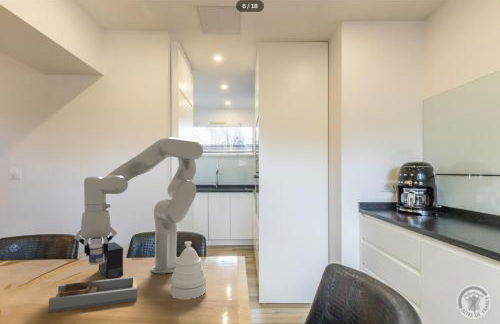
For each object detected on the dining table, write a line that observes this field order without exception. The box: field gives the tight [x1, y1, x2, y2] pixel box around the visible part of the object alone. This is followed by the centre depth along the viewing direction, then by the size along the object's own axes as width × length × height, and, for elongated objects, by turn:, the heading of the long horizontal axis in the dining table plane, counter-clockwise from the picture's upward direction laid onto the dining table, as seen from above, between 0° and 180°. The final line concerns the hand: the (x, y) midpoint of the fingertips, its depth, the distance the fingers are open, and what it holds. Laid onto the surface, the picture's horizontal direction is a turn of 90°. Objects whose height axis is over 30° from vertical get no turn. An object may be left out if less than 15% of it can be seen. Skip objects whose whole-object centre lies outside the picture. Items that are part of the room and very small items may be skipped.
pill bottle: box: [88, 237, 105, 266], centre depth 116 cm, size 5×5×10 cm
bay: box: [48, 275, 138, 314], centre depth 104 cm, size 26×13×4 cm, turn 111°
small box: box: [98, 241, 124, 280], centre depth 129 cm, size 13×7×12 cm, turn 41°
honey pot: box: [170, 240, 207, 300], centre depth 110 cm, size 13×13×18 cm
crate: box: [55, 280, 98, 297], centre depth 101 cm, size 12×9×4 cm
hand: (96, 253), depth 116 cm, fingers closed on pill bottle, 5 cm apart
